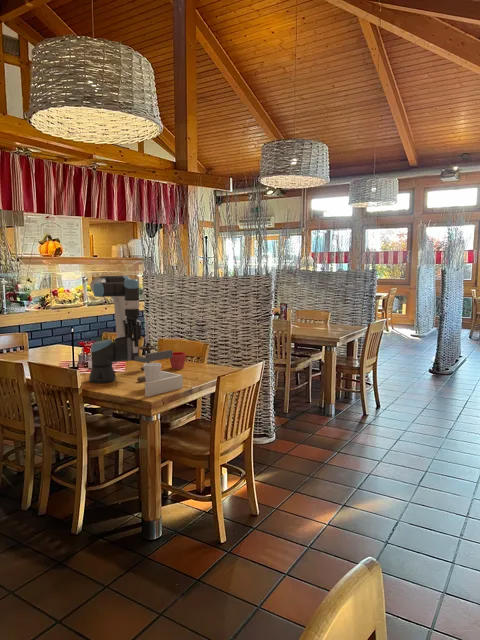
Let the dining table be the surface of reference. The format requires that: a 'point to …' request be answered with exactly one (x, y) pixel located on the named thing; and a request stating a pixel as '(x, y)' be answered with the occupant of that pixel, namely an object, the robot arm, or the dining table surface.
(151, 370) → the cup
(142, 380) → the walnut stick
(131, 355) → the crook tool
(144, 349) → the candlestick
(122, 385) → the dining table surface
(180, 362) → the flower pot
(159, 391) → the cubby
